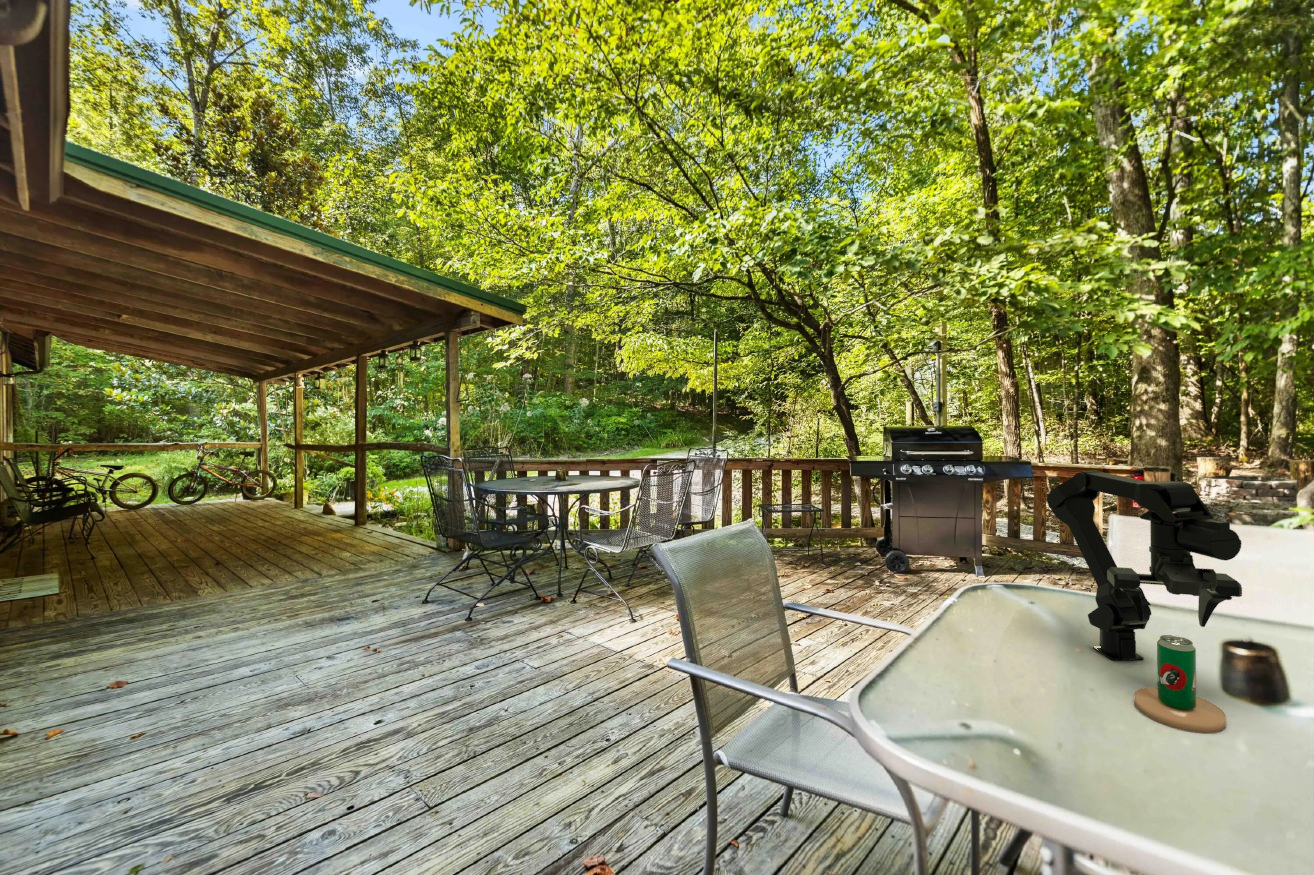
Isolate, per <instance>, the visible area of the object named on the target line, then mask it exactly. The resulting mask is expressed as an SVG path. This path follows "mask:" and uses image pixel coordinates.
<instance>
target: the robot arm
mask: <svg viewBox="0 0 1314 875" xmlns="http://www.w3.org/2000/svg"><path fill="white" fill-rule="evenodd" d="M1100 493H1102V494H1103V493H1104V494H1108V495H1112V496H1116V497H1119V498H1123V499H1127V500H1131V501H1133V502H1135V503H1136V504H1137V505H1138V506H1139V507H1140V508H1144V509H1145V510H1147V511H1146V512H1144V513H1142V514H1140V515H1139V519H1141V520H1145V521H1148V522H1150V525H1149V526H1150V528H1149V529H1150V531H1149V532H1150V533H1149V534H1150V546H1149V547H1148V548H1149V549H1148V550H1149V552H1150V565H1149V572H1150V574H1149V573H1148V574H1146V573H1138V572H1136V571H1135V570H1134V569H1133V568H1132V567H1121V566H1119V567H1118V566H1117V564H1116V561H1115V560H1114V558H1113V556H1112V554H1111V552H1110V550H1109V548H1108V546H1107V544H1106V542H1105V541H1104V538H1103V537H1102V535H1101V532H1100V531H1099V529H1098V527H1097V524H1096V523H1095V521H1094V518H1095V517H1094V516H1095V512H1096V506H1095V503H1094V501H1095V500H1096V499H1097V498H1099V496H1100V495H1101V494H1100ZM1046 503H1047V505H1048V507H1049V508H1050V510H1051V512H1052V513H1053V514H1054V516H1055V518H1057V519H1058V520H1060V521H1061V522H1062V523H1064V524H1065V525H1066V526H1067V527H1068V528H1069V530H1070V532H1071V534H1072V536H1073V538H1074V540H1075V542H1076V544H1077V547H1078V549H1079V550H1080V553H1081V555H1082V556H1083V559H1084V561H1085V564H1086V565H1087V566H1088V569H1089V571H1090V573H1091V575H1092V577H1093V579H1094V581H1095V583H1096V586H1097V588H1096V593H1095V602H1096V607H1097V608H1095V609H1094V610H1092V611H1090V613H1088V614H1087V617H1088V621H1089V624H1090V625H1091V626H1093V627H1096V628H1097V629H1099V645H1100V646H1101V648H1097V649H1098V650H1099V651H1100V652H1101V653H1100V652H1099V651H1098V652H1099V653H1100V654H1101V655H1103V654H1104V655H1103V656H1105V657H1106V658H1108V659H1109V660H1111V661H1144V656H1142V655H1140V654H1138V653H1137V640H1136V632H1135V630H1146V629H1145V628H1146V626H1147V624H1148V622H1149V620H1150V619H1151V617H1150V616H1152V611H1151V607H1150V606H1151V603H1150V601H1148V599H1147V597H1146V595H1145V593H1144V591H1143V589H1142V588H1141V584H1142V585H1143V584H1144V585H1157V586H1158V585H1159V586H1165V589H1166V592H1168V593H1169V594H1172V595H1179V596H1180V595H1187V596H1188V595H1190V596H1193V597H1198V610H1197V611H1198V613H1197V614H1198V615H1197V617H1198V623H1199V626H1200V627H1201V628H1205V627H1206V625H1207V623H1208V622H1209V620H1210V618H1211V616H1212V614H1213V612H1214V611H1215V609H1216V608H1217V607H1218V605H1219V604H1220V603H1222V602H1224V601H1231V600H1232V599H1233V597H1237V598H1240V597H1243V587H1242V584H1241V583H1240V582H1239V581H1238V580H1236V579H1235V578H1233V577H1232V576H1230V575H1228V574H1227V573H1222V572H1220V573H1219V572H1216V571H1215V569H1214V568H1198V567H1197V568H1196V566H1195V563H1194V557H1193V555H1192V554H1191V553H1193V554H1197V555H1201V556H1205V557H1208V558H1213V559H1217V560H1219V561H1229V560H1233V559H1234V558H1235V557H1236V556H1238V554H1239V553H1240V551H1241V549H1242V539H1240V536H1239V535H1238V533H1237V532H1236V531H1235V530H1233V529H1231V524H1230V522H1229V521H1225V520H1214V516H1213V515H1212V513H1211V512H1210V510H1209V508H1207V506H1206V504H1205V503H1204V502H1203V500H1202V499H1201V498H1200V496H1199V494H1198V493H1197V492H1196V490H1195V489H1194V488H1193V485H1192V484H1190V483H1188V482H1186V481H1166V480H1165V481H1147V480H1141V479H1137V478H1131V477H1128V476H1127V477H1126V476H1123V475H1122V476H1121V475H1117V474H1112V473H1107V472H1103V471H1101V470H1097V469H1096V470H1084V471H1079V472H1077V473H1075V474H1074V476H1072V477H1070V478H1069V479H1067V480H1066V481H1064V482H1062V483H1060V484H1058V485H1057V486H1056V487H1054V488H1052V489H1051V490H1050V491H1049V493H1048V495H1047V496H1046Z"/></svg>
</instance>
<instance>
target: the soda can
mask: <svg viewBox="0 0 1314 875" xmlns="http://www.w3.org/2000/svg"><path fill="white" fill-rule="evenodd" d="M1156 643H1157V644H1156V645H1157V646H1156V648H1157V649H1156V650H1157V652H1156V653H1157V654H1156V655H1157V656H1156V657H1157V658H1156V660H1157V661H1156V662H1157V663H1156V664H1157V672H1156V673H1157V687H1158V699H1159V700H1160V701H1161V702H1162V703H1163V704H1165V705H1167V706H1169V707H1171V708H1174V709H1178V710H1192V709H1194V708H1195V707H1196V696H1197V650H1196V647H1195V646H1194V643H1193V641H1191V640H1190V639H1188V638H1186V637H1182V636H1178V635H1171V634H1163V635H1160V636H1159V639H1158V640H1157V642H1156Z"/></svg>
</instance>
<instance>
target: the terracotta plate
mask: <svg viewBox="0 0 1314 875" xmlns="http://www.w3.org/2000/svg"><path fill="white" fill-rule="evenodd" d="M1133 696H1134V697H1133V698H1134V700H1133V701H1134V706H1135V708H1136V710H1138V711H1139V712H1140V713H1141V715H1144V716H1145V717H1146V718H1147V717H1148V718H1149V719H1151V720H1153V721H1155V722H1157V723H1159V724H1162V725H1164V726H1167V727H1170V728H1173V729H1177V730H1182V731H1186V732H1191V733H1198V734H1215V733H1221V732H1223V731H1224V730H1225V729H1226V728H1227V716H1226V712H1224V711H1223V709H1221V708H1220V707H1219V706H1218V705H1217V704H1214V702H1211V701H1209V700H1207V699H1205V698H1203V697H1200V696H1198V695H1196V707H1195V708H1194V709H1192V710H1178V709H1174V708H1171V707H1169V706H1167V705H1165V704H1163V703H1162V702H1161V701H1160V700H1159V699H1158V686H1157V687H1156V686H1155V687H1154V686H1153V687H1152V686H1151V687H1150V686H1149V687H1142V688H1139V689H1137V690H1135V691H1134V693H1133Z"/></svg>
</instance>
